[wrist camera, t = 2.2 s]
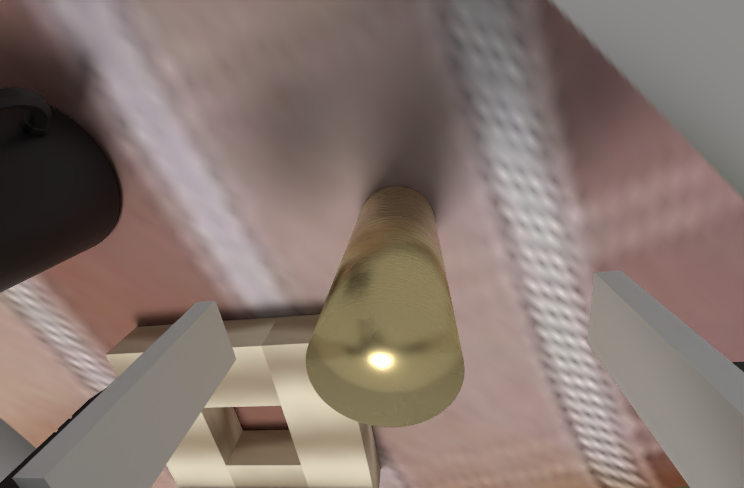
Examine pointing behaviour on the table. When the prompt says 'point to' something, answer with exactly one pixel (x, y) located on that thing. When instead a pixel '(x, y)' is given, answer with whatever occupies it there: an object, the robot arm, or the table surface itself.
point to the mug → (48, 188)
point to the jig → (265, 388)
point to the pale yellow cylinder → (388, 319)
